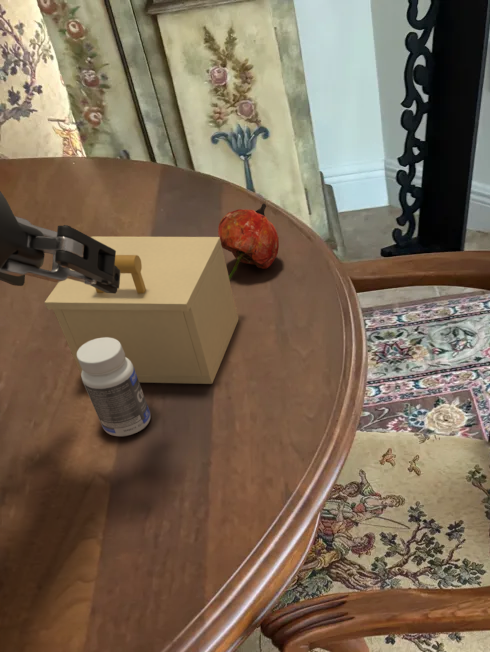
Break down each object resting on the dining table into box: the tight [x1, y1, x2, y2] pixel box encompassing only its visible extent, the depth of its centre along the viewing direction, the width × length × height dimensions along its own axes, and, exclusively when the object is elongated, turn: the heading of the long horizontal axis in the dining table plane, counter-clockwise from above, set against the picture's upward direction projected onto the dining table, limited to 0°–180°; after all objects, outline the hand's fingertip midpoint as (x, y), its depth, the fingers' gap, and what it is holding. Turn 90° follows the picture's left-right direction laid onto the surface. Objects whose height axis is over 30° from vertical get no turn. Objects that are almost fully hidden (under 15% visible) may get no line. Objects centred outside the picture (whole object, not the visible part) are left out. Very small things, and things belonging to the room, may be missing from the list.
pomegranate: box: [217, 202, 280, 280], centre depth 93 cm, size 7×7×10 cm
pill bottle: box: [77, 337, 151, 437], centre depth 73 cm, size 5×5×8 cm
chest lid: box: [44, 235, 221, 311], centre depth 76 cm, size 13×14×4 cm
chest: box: [52, 245, 240, 385], centre depth 81 cm, size 12×14×9 cm
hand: (67, 277), depth 65 cm, fingers open, 8 cm apart
